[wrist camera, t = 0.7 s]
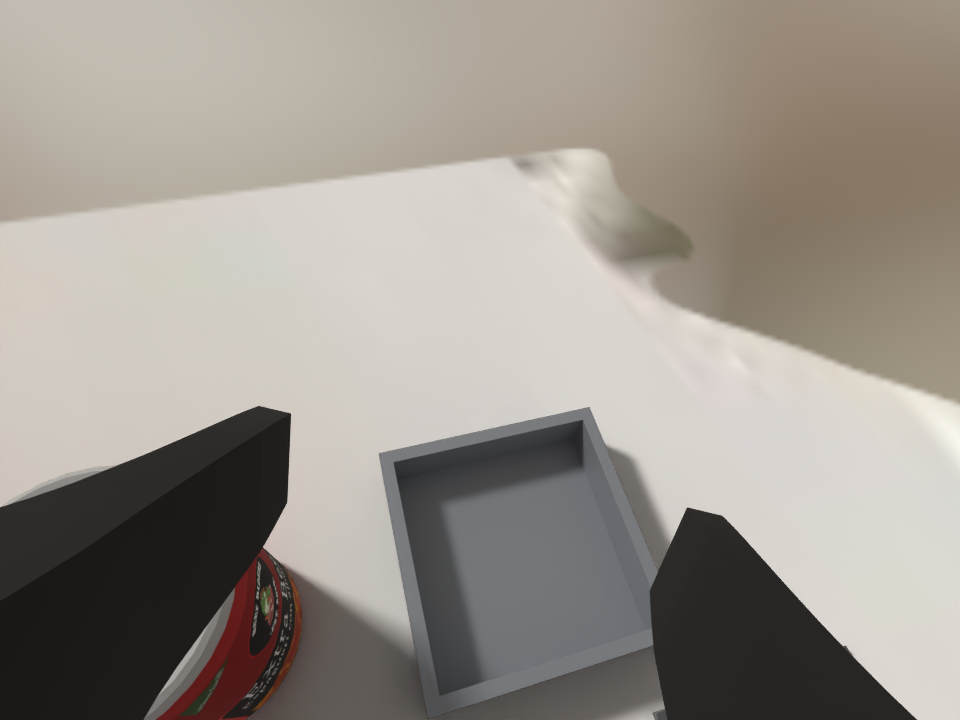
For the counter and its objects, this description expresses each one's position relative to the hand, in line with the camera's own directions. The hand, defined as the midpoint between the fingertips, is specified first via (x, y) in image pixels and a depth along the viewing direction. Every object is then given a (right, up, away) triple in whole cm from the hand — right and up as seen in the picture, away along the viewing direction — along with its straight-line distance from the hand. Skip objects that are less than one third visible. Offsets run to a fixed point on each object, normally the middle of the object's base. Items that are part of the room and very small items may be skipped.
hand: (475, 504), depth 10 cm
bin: (+2, -7, +17) cm, 18 cm away
